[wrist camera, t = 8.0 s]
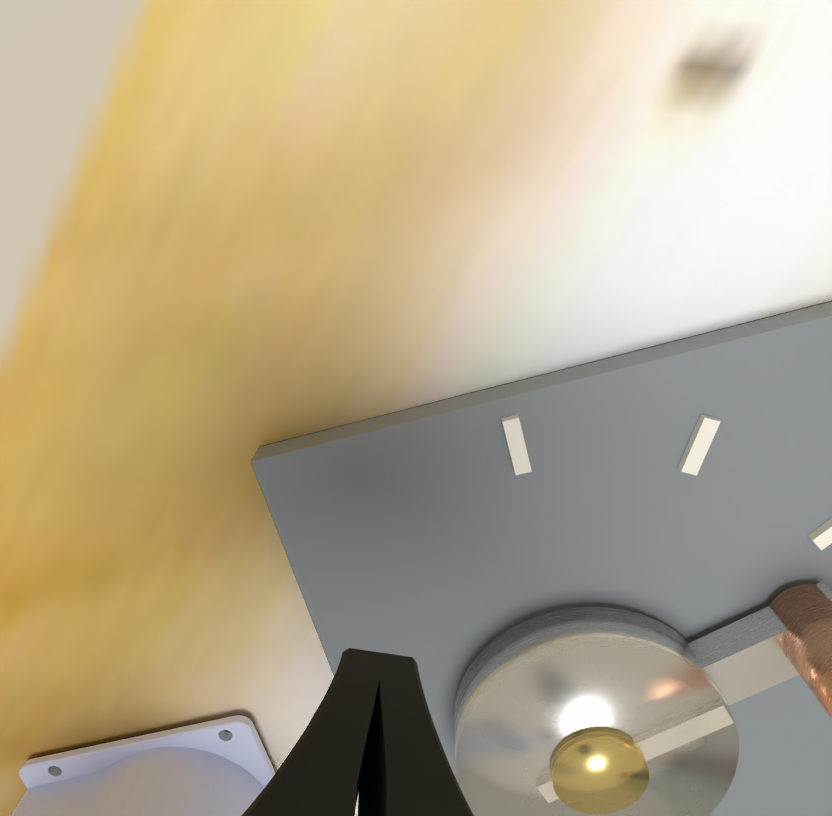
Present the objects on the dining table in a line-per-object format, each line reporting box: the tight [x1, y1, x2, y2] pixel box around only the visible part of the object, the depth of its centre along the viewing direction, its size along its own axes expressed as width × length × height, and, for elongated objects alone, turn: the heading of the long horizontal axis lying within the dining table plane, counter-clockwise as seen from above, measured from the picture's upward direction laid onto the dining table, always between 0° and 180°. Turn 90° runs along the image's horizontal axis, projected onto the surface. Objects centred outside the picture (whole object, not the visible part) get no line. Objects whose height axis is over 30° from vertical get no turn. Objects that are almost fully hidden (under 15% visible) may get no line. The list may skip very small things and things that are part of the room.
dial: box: [453, 582, 832, 816], centre depth 21 cm, size 14×9×6 cm, turn 122°
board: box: [251, 301, 832, 816], centre depth 24 cm, size 20×22×2 cm
